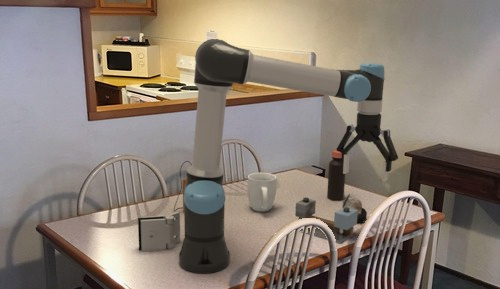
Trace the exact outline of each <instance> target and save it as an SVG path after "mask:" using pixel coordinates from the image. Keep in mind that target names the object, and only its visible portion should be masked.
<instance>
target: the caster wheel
mask: <svg viewBox="0 0 500 289" xmlns="http://www.w3.org/2000/svg"><path fill="white" fill-rule="evenodd" d="M344 207H349V208H350V209H354V210H358V214H357V223H358V224H363V223H364V222H366V219H367V217H368V216H367V215H368V212H367V210H366V209H365V208H364V207H363V203H362V201H361V200H360V199H357V198H355V197H351V193H349V194H348V195H347V196H346V197H345V199H343V202H342V208H344ZM342 208H341V209H342Z"/></svg>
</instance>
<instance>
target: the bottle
mask: <svg viewBox="0 0 500 289" xmlns="http://www.w3.org/2000/svg"><path fill="white" fill-rule="evenodd" d="M331 158H332V159H331V160H330V161H329V163H328V175H327V176H328V177H327V193H326V194H327V195H326V196H327V197H326V198H327V199H328V200H330V201H334V200H335V201H336V202H337V201H339V200H340V201H342V200H343V201H344V197H345V185H346V184H345V182H346V174H343V165H344V163H342V162H341V159H342V153H341V152H339V151H337V149H336V150H332V151H331Z"/></svg>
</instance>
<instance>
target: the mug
mask: <svg viewBox="0 0 500 289" xmlns="http://www.w3.org/2000/svg"><path fill="white" fill-rule="evenodd" d="M276 192H277V175H275V174H273V173H270V172H253V173H249V174H248V176H247V197H248V201H249V204H250V206H251V208H252V210H253V211H255V212H262V213H265V212H268V211H270V210H271V209H272V207H273V205H274V202H275V199H276V195H277V193H276Z"/></svg>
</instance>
